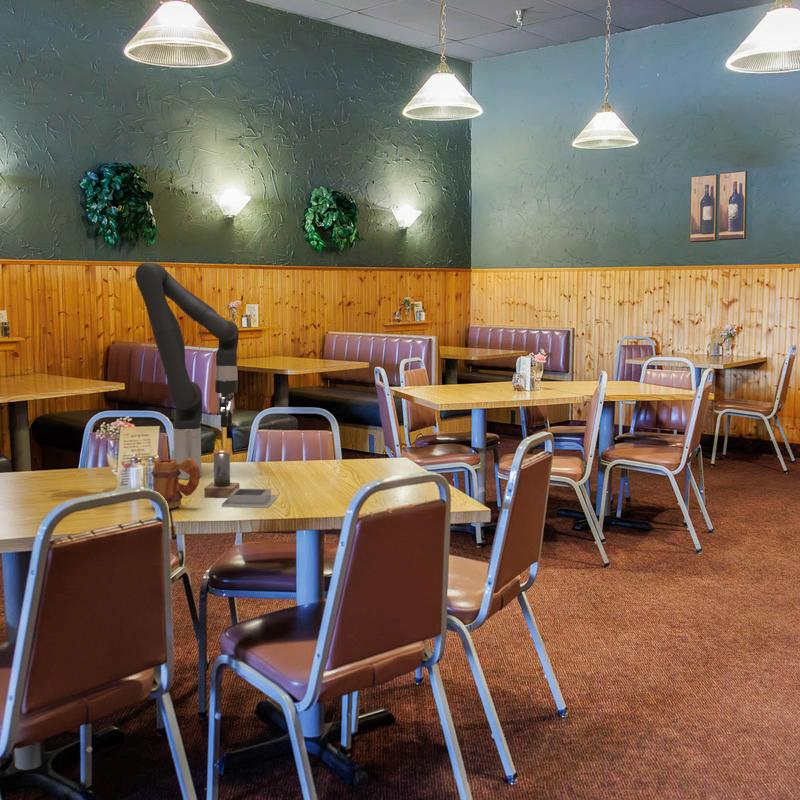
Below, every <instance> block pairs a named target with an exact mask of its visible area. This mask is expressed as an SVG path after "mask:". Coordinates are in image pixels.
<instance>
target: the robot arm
mask: <svg viewBox="0 0 800 800" xmlns="http://www.w3.org/2000/svg"><path fill="white" fill-rule="evenodd" d="M134 277H135V282H136V285H137V287H138V289H139V292H140V294H141V296H142V299H143V302H144V305H145V308H146V311H147V316H148V320H149V323H150V327H151V330H152V334H153V337H154V342H155V345H156V348H157V350H158V354H159V357H160V360H161V363H162V366H163V370H164V372H165V375H166V381H167V387H168V392H169V398H170V400H171V403H172V405H174V406H175V415H174V418H173V423H172V424H173V426H172V427H173V430H172V431H173V449H172V450H171V457H172V458H171V460H176V462H177V463H181V462H183V461H184V460H186V459H188V458H191V459H193V460H194V461H195V462H196V464H197V465H198V468H199V470H200V478H201V477H202V441H201V440H202V437H201V434H202V431H201V428H202V427H201V426H202V425H201V422H202V418H203V393H202V389H201V387H200V386H199V384H198V383H196V382H195V381H191V378H190V375H189V373H188V369H187V364H186V348H185V347H186V346H185V341H184V336H183V332H182V330H181V327H180V324H179V321H178V319H177V317H176V315H175V314H174V312H173V311H172V308H171V307H170V305H169V304H168V303H169V302H167V301H168V300H167V298H169V299H170V300H171V301H172V302H173V303H175V305H177V307H179V308H180V310H181V311H182V312H183V313H185V315H186V316H188V317H190V319H192V320H194V321H195V322H196V323H197V324H199V325H201V327H203V328H205V329H206V330H207V331H208V332H209V333H210V334H211V335H212V336H213V337H215V338H216V339H218V348H217V350H216V355H215V372H214V373H215V375H214V376H215V377H214V378H215V379H214V383H215V387H214V388H215V389H214V391H215V393H216V394H221V396H219V398H218V415H219V416H220V427H221V428H228V426H231V425H232V424H233V414H234V411H235V409H234V397H235V396H234V394H237V393H238V387H239V386H238V382H239V381H238V380H239V379H238V355H237V353H238V351H237V350H238V346H239V345H238V344H239V335H240V334H239V328H238V325H237V324H236V323H235V322H233V321H231V320H227V319H225V318H224V317H222V316H221V315H220V314H219V313H217V311H216V310H215V309H214V307H212V306H210V305H209V304H208V303H206V302H205V301H204V300H203V299H201V298H200V297H198V296H197V295H195V294H193V293H192V292H190V291H189V289H186V287H184V286H183V285H182V284H181V283H179V282H178V281H177V280H176V279H175V278H174V277H173V276H172V275H171V274H170V273H169V272H168V271H167V269H165V267H164V266H162V265H161V264H159V263H157V262H143V263H141V264H139V265H138V266H137V267H136V270H135V274H134ZM166 297H167V298H166ZM180 472H181V474H180V475H179V476H178V480H179V479H180V480H181V479H182V480H189V476H190V475H189V474H187V473H186V472H184V471H183V470H180Z"/></svg>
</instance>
